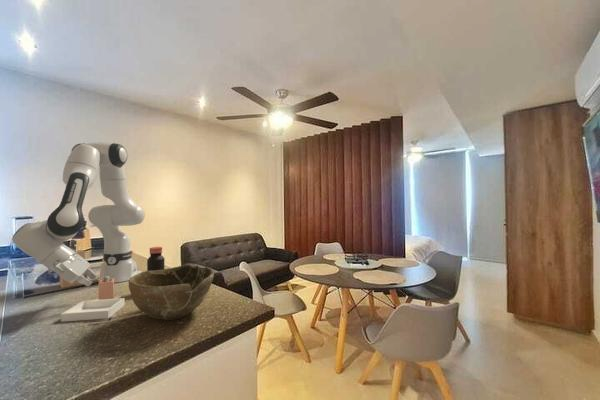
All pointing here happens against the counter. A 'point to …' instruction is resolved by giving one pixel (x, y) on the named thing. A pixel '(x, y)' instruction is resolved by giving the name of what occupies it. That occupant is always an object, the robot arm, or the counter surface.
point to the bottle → (155, 259)
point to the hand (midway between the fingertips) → (92, 281)
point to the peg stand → (106, 279)
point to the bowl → (170, 290)
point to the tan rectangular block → (66, 284)
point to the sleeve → (106, 289)
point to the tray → (93, 310)
